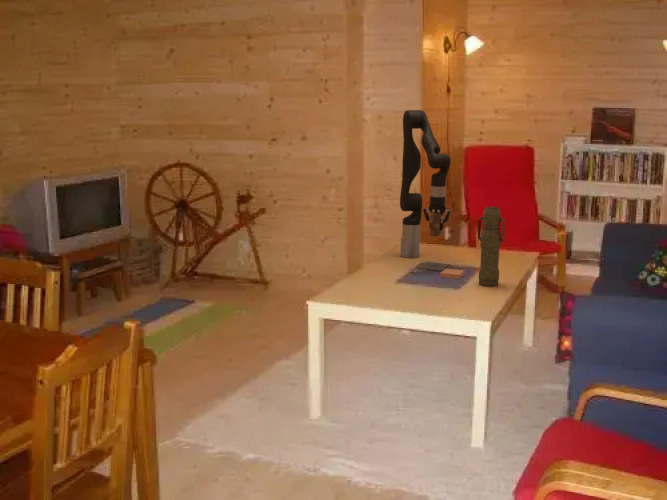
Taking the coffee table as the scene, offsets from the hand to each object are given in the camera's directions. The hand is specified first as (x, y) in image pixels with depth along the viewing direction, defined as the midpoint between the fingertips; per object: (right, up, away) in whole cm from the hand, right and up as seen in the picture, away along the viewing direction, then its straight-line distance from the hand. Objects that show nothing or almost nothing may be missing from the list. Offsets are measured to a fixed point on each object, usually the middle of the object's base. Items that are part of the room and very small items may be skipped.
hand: (436, 229), depth 377 cm
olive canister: (+20, -25, -28) cm, 43 cm away
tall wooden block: (0, -2, 0) cm, 2 cm away
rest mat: (-1, -18, +4) cm, 19 cm away
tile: (+8, -20, -9) cm, 23 cm away
